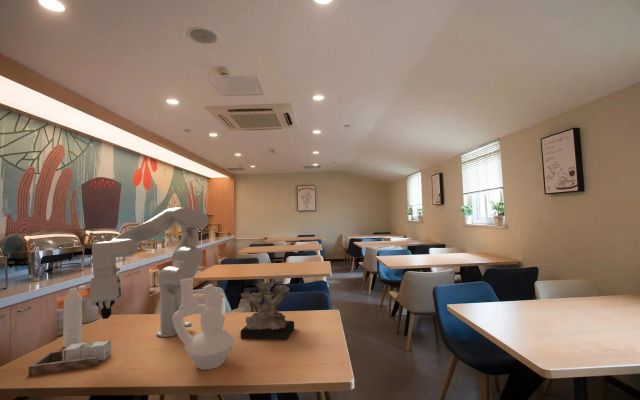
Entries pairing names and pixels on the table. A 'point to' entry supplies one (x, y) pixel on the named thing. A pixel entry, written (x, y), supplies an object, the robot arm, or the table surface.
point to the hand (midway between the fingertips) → (106, 317)
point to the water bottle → (72, 318)
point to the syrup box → (87, 351)
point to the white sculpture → (203, 327)
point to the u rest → (59, 363)
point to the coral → (267, 314)
